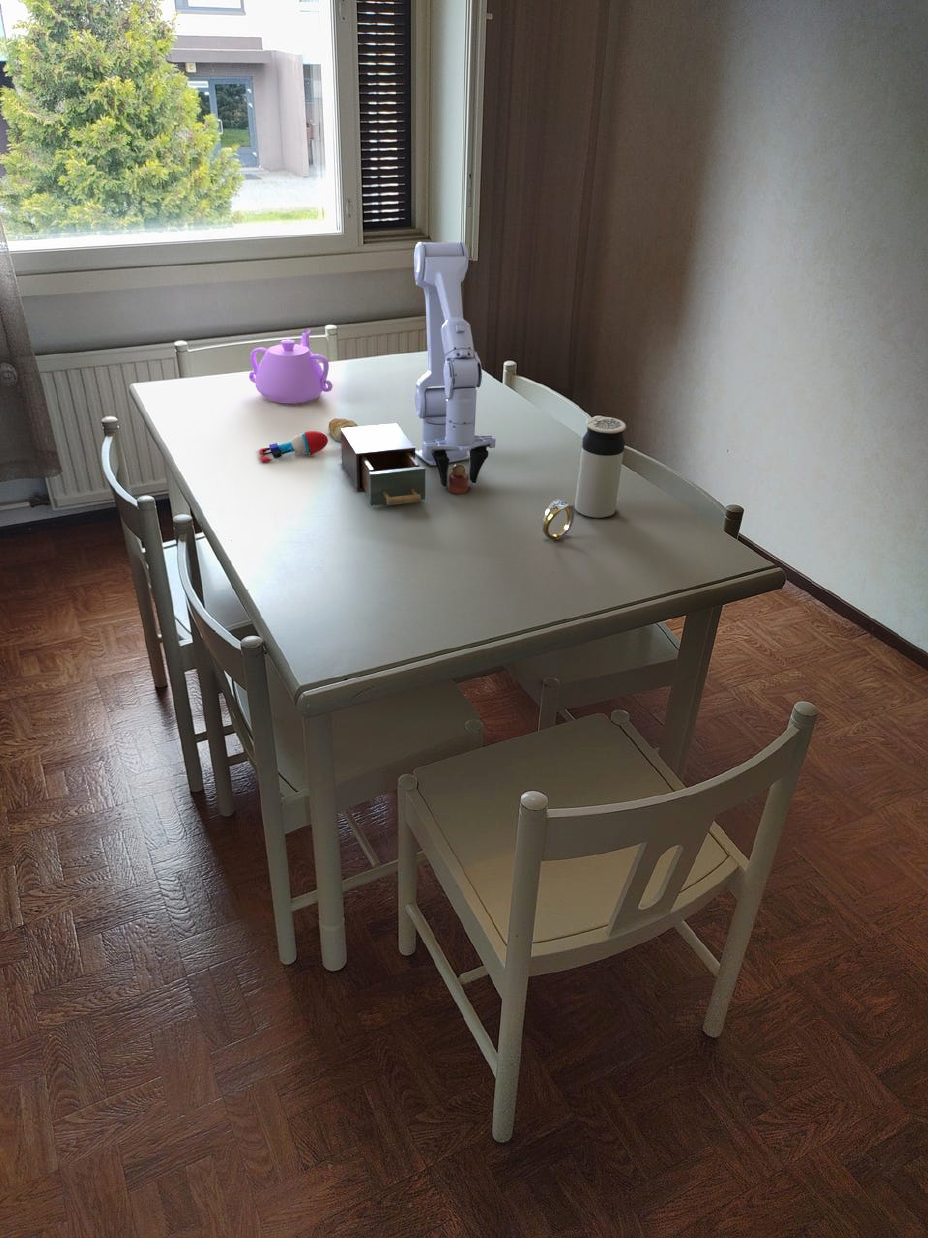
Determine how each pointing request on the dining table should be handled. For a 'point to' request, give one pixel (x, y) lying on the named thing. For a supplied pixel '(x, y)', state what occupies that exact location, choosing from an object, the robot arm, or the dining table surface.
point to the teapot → (290, 372)
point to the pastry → (339, 427)
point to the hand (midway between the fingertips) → (458, 482)
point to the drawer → (392, 478)
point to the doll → (458, 479)
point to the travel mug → (600, 467)
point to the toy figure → (297, 445)
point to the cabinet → (370, 446)
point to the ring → (547, 519)
